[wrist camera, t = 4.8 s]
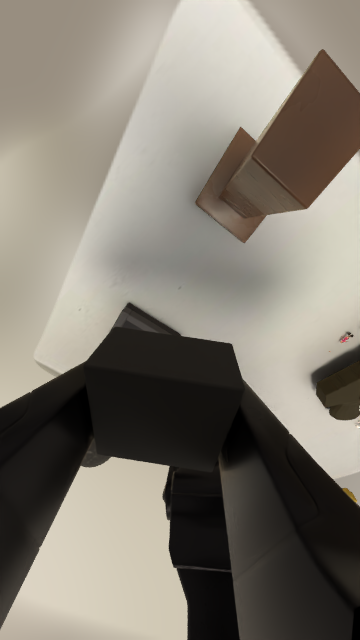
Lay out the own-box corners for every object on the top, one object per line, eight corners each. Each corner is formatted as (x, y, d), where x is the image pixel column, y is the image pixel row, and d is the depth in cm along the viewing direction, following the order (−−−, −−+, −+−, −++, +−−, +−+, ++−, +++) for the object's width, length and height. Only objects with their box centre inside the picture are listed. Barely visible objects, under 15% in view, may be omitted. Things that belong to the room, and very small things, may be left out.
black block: (209, 418, 8) (212, 473, 6) (118, 404, 8) (95, 455, 6) (232, 342, 6) (247, 390, 4) (114, 325, 6) (80, 365, 4)
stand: (290, 181, 15) (465, 99, 5) (242, 242, 17) (302, 264, 8) (238, 131, 14) (336, -87, 4) (194, 203, 16) (192, 171, 7)
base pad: (180, 334, 23) (179, 344, 21) (151, 370, 26) (148, 382, 24) (129, 302, 21) (122, 310, 19) (104, 344, 24) (96, 354, 22)
